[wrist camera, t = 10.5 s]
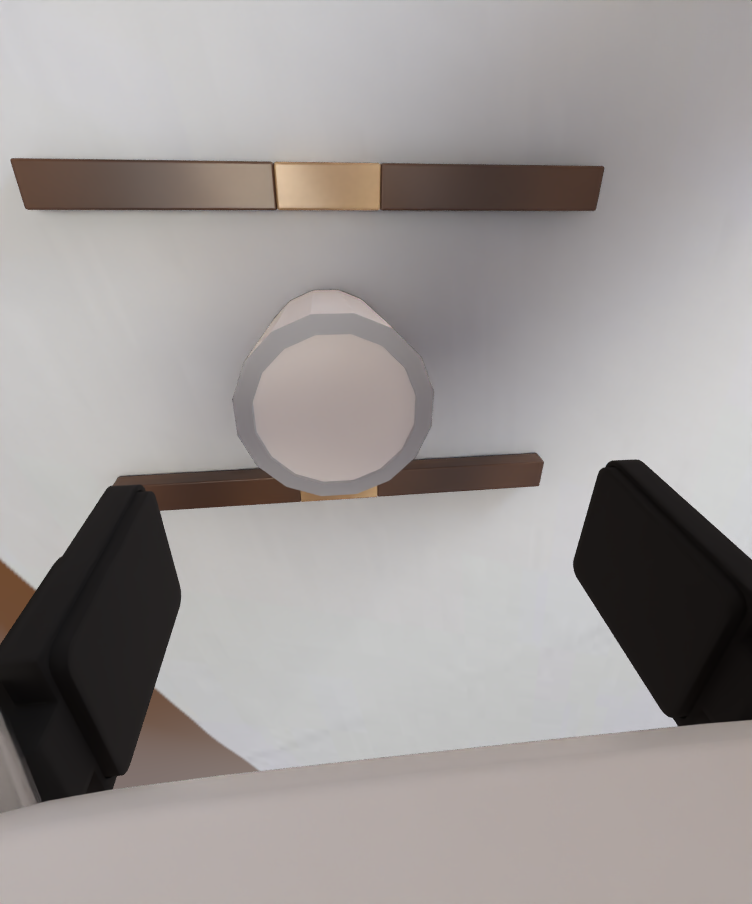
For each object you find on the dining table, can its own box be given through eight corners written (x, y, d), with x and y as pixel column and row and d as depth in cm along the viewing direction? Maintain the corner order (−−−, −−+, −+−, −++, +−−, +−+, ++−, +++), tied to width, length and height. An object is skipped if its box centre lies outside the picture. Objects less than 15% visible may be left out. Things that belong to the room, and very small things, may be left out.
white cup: (384, 426, 25) (409, 507, 19) (246, 408, 23) (225, 488, 17) (416, 290, 22) (459, 333, 16) (259, 259, 20) (239, 293, 14)
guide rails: (592, 166, 20) (605, 166, 19) (532, 476, 27) (539, 486, 27) (23, 159, 18) (8, 158, 17) (125, 502, 25) (119, 514, 24)
